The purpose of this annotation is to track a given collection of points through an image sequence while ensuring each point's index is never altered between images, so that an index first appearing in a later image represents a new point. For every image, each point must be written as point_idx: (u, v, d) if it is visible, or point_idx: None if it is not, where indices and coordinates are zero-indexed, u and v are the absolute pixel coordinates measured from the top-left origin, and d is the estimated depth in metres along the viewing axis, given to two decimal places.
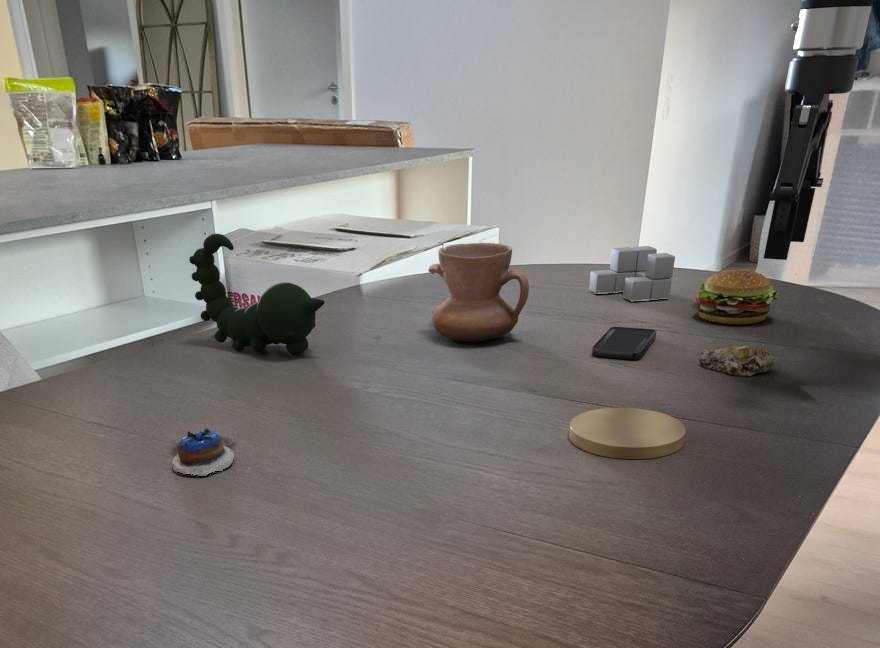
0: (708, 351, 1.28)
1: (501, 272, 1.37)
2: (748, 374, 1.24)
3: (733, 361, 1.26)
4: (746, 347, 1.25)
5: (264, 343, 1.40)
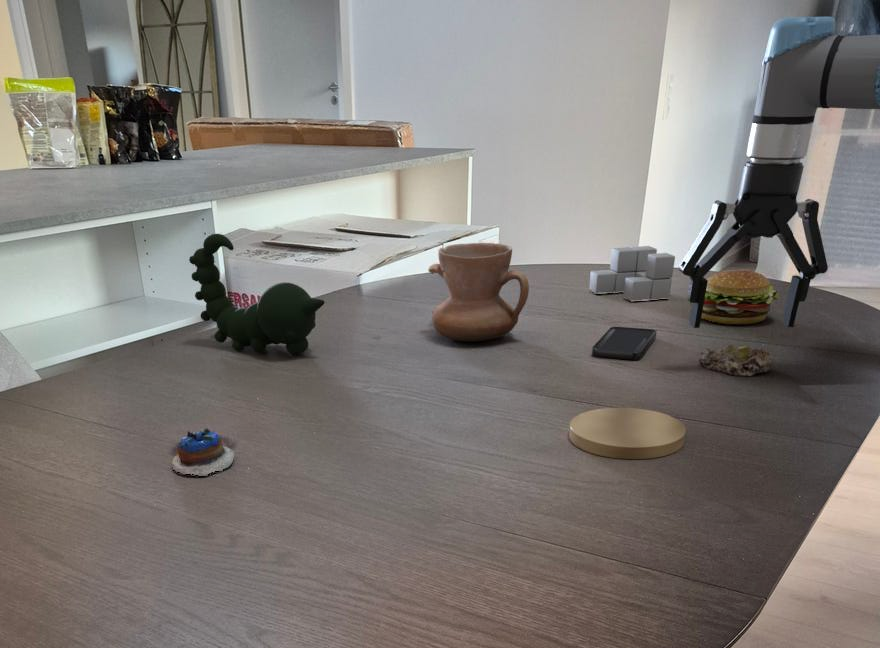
0: (708, 351, 1.28)
1: (501, 272, 1.37)
2: (748, 374, 1.24)
3: (733, 361, 1.26)
4: (746, 347, 1.25)
5: (264, 343, 1.40)
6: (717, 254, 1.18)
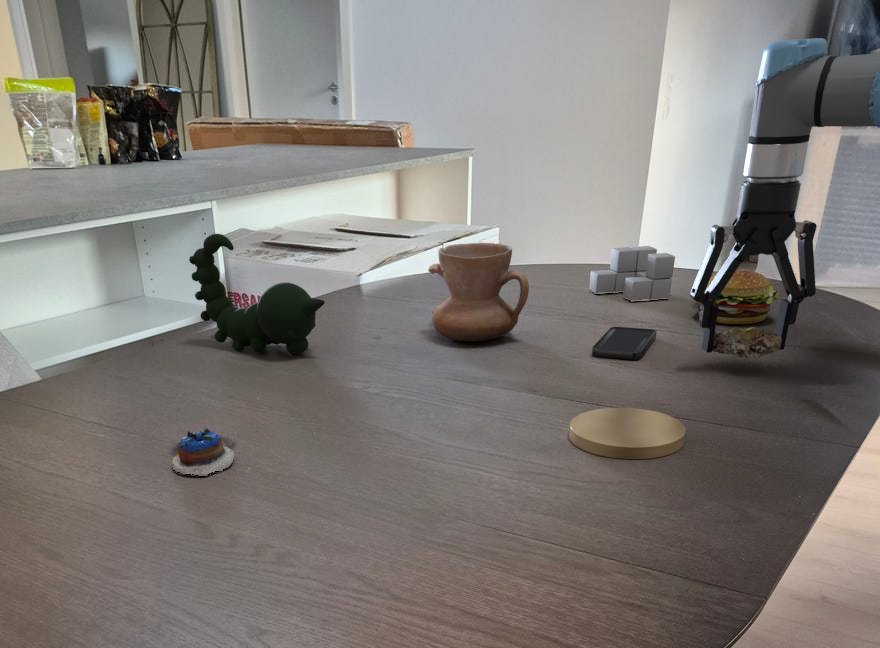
0: None
1: (501, 272, 1.37)
2: (755, 356, 1.23)
3: (740, 343, 1.24)
4: (753, 328, 1.23)
5: (264, 343, 1.40)
6: (724, 278, 1.20)
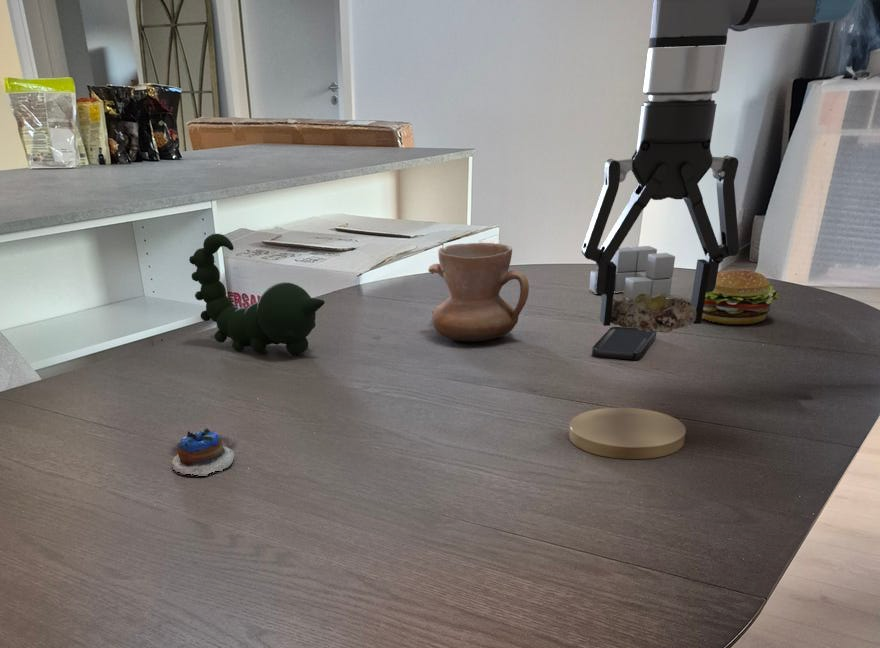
0: (614, 302, 1.00)
1: (501, 272, 1.37)
2: (663, 330, 0.96)
3: (645, 314, 0.98)
4: (661, 295, 0.97)
5: (264, 343, 1.40)
6: (622, 229, 0.93)
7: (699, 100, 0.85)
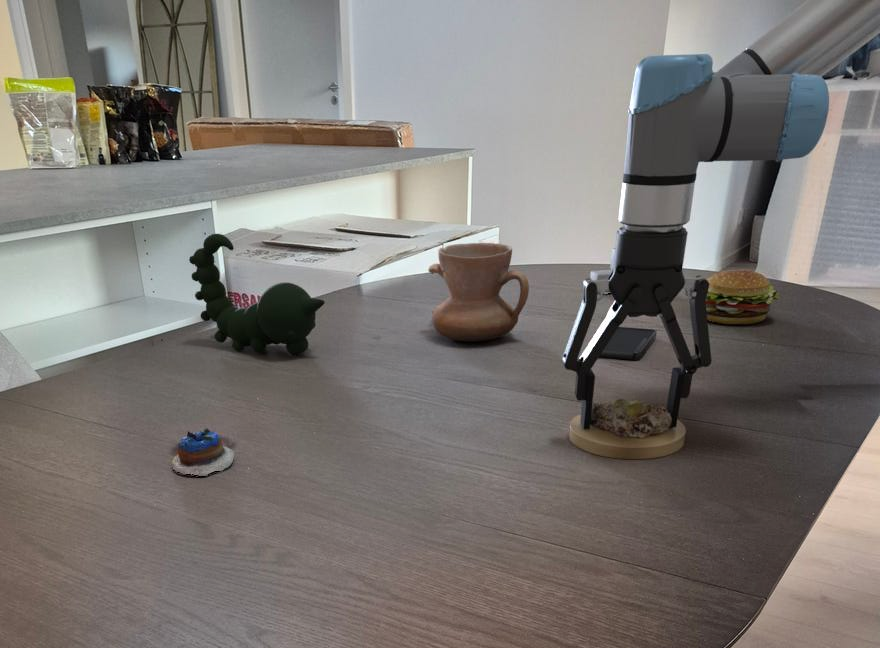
0: (594, 406, 1.04)
1: (501, 272, 1.37)
2: (639, 436, 1.01)
3: (622, 419, 1.02)
4: (637, 402, 1.01)
5: (264, 343, 1.40)
6: (599, 343, 0.98)
7: (670, 231, 0.90)
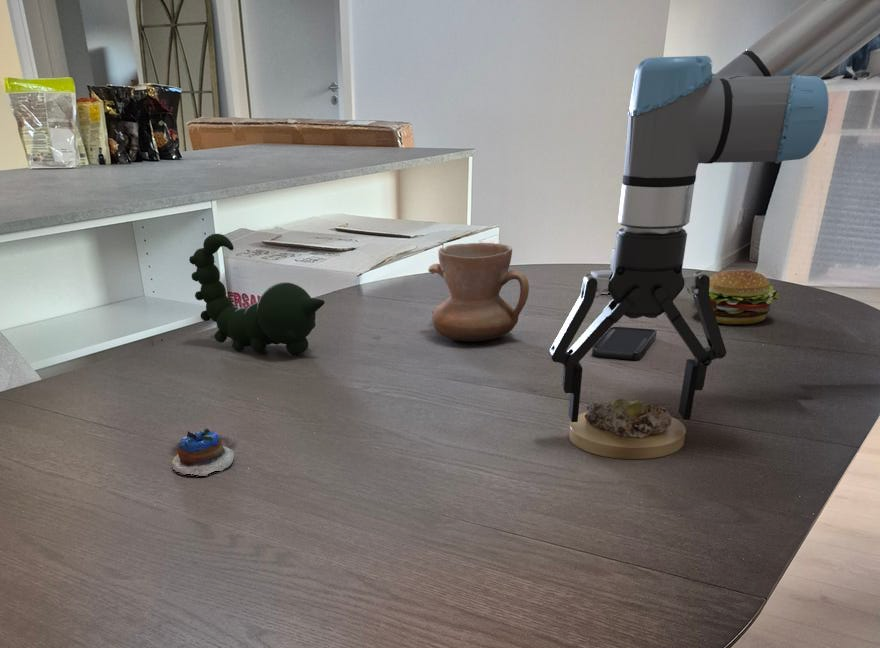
0: (594, 406, 1.04)
1: (501, 272, 1.37)
2: (639, 436, 1.01)
3: (622, 419, 1.02)
4: (637, 402, 1.01)
5: (264, 343, 1.40)
6: (591, 338, 0.98)
7: (670, 233, 0.90)
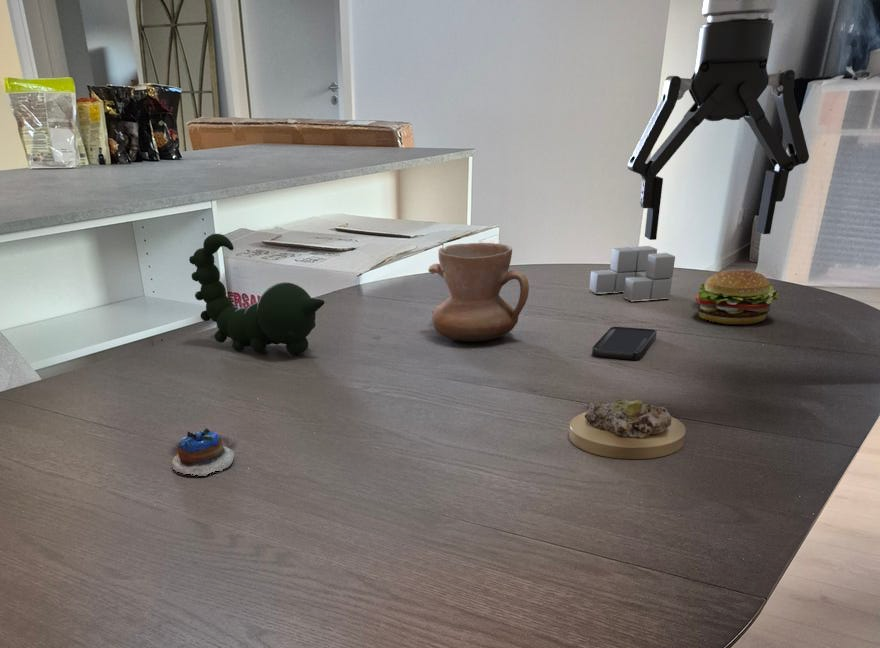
0: (594, 406, 1.04)
1: (501, 272, 1.37)
2: (639, 436, 1.01)
3: (622, 419, 1.02)
4: (637, 402, 1.01)
5: (264, 343, 1.40)
6: (673, 144, 0.96)
7: (758, 18, 0.89)
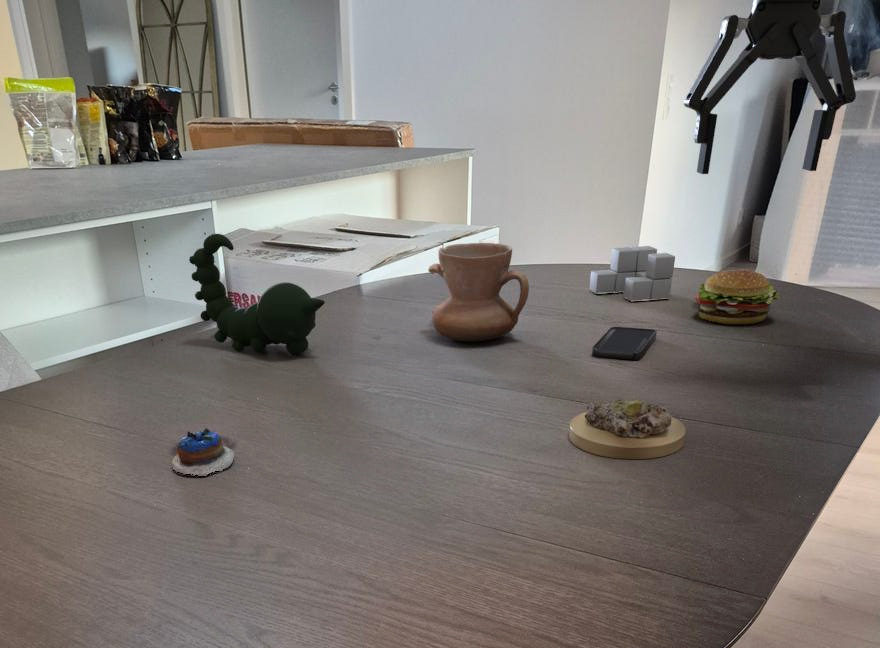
0: (594, 406, 1.04)
1: (501, 272, 1.37)
2: (639, 436, 1.01)
3: (622, 419, 1.02)
4: (637, 402, 1.01)
5: (264, 343, 1.40)
6: (728, 81, 1.03)
7: None
